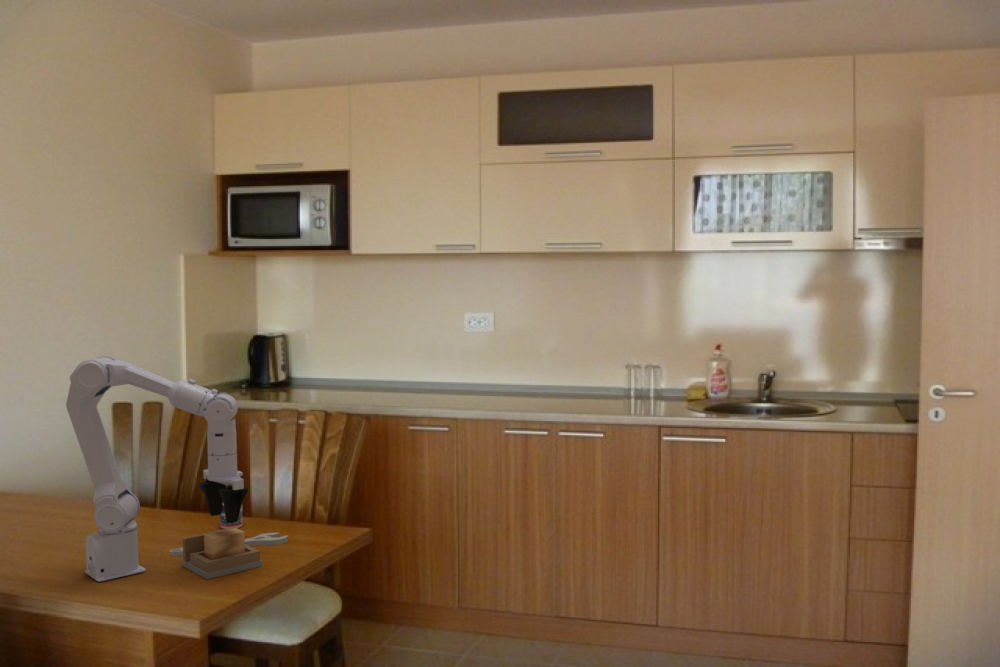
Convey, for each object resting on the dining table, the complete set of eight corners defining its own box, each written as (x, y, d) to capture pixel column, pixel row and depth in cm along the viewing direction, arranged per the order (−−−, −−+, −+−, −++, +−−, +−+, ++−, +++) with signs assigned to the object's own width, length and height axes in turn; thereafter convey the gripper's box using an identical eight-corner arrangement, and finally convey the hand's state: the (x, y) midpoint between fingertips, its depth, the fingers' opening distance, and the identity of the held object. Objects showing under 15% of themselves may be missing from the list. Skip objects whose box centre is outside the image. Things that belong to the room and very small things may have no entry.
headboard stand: (206, 579, 176) (206, 549, 176) (182, 565, 185) (181, 537, 184) (262, 566, 184) (261, 537, 184) (236, 553, 193) (235, 526, 192)
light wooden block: (213, 567, 179) (212, 538, 179) (204, 563, 182) (203, 534, 182) (245, 560, 184) (244, 532, 184) (236, 556, 187) (236, 528, 187)
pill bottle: (215, 527, 214) (214, 491, 213) (232, 522, 218) (232, 486, 217) (230, 530, 211) (229, 493, 210) (247, 525, 215) (246, 489, 215)
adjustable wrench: (170, 559, 191) (170, 551, 191) (169, 551, 197) (169, 543, 197) (288, 545, 200) (288, 537, 200) (284, 537, 206) (284, 530, 206)
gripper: (257, 455, 179) (258, 521, 180) (225, 446, 190) (226, 508, 191) (223, 460, 174) (225, 528, 175) (193, 450, 185) (194, 514, 186)
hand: (224, 518), depth 183 cm, fingers open, 7 cm apart
